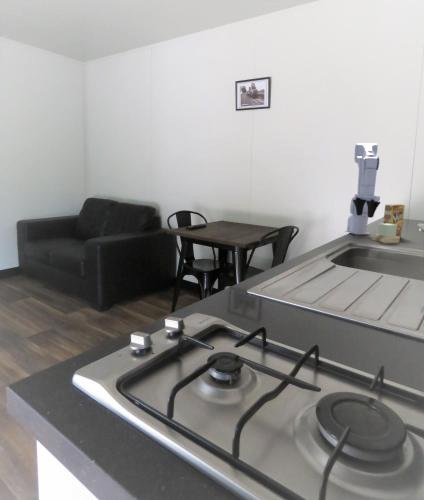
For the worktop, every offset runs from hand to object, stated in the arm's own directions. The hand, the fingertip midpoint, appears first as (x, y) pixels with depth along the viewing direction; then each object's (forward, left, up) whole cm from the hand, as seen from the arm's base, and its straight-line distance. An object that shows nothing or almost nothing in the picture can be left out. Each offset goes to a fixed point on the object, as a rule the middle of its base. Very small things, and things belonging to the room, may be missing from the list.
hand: (364, 216), depth 167 cm
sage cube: (+6, +8, -8) cm, 12 cm away
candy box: (-3, +19, -11) cm, 22 cm away
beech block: (+6, +8, -11) cm, 15 cm away
